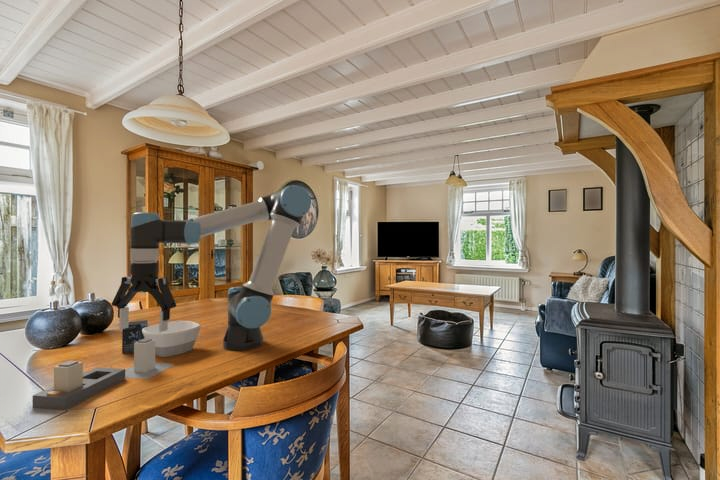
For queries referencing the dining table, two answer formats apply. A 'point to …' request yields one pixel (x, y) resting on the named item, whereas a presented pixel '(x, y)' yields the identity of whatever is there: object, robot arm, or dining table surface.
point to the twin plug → (68, 376)
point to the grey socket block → (79, 389)
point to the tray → (158, 368)
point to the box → (132, 335)
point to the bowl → (173, 337)
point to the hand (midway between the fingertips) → (143, 329)
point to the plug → (144, 355)
